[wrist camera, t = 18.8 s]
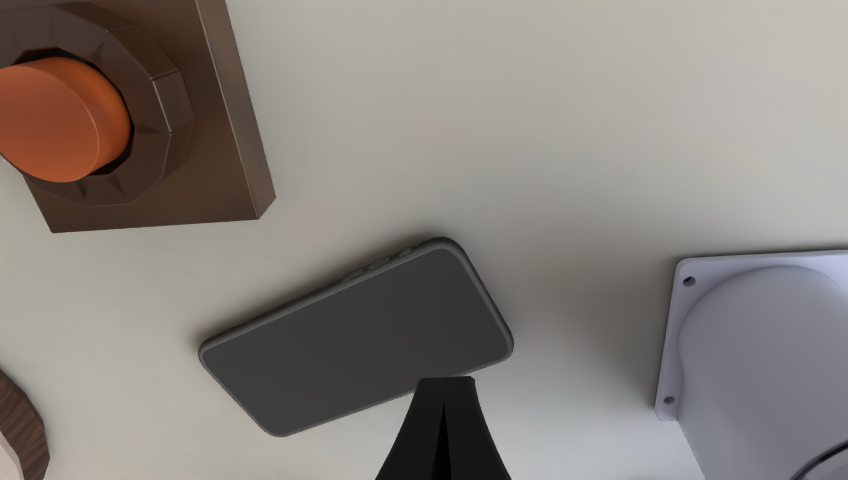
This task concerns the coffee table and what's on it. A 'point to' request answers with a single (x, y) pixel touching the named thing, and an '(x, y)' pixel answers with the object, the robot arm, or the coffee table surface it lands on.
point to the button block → (151, 112)
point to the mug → (20, 435)
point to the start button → (60, 118)
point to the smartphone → (361, 340)
